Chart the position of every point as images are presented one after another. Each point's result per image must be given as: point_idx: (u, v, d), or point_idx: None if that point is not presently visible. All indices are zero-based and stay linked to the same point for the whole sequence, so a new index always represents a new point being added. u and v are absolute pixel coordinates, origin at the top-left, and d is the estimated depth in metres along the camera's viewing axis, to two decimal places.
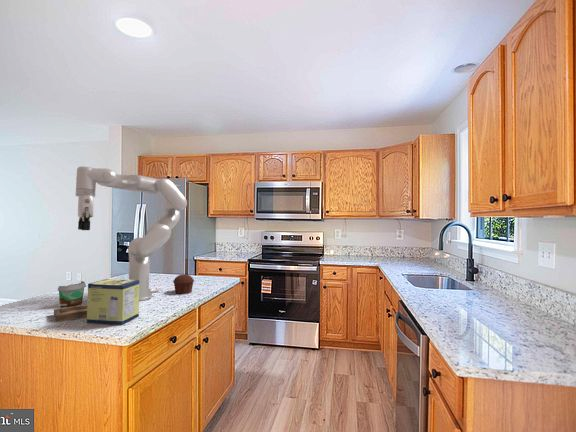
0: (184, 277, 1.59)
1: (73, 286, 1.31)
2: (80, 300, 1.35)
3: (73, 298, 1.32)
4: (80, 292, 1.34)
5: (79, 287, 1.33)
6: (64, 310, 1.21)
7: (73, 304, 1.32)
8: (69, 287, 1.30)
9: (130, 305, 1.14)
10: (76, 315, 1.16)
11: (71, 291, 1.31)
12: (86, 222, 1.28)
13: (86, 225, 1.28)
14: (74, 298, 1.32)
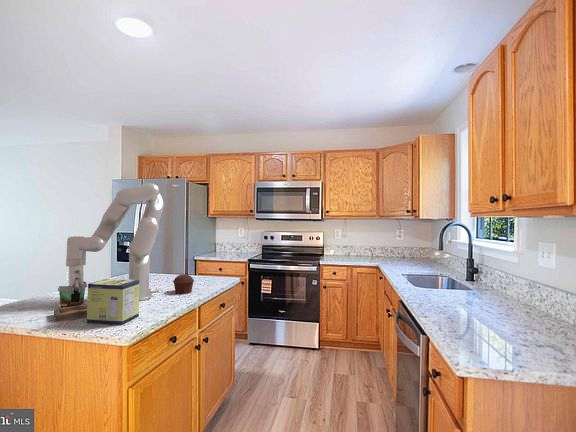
0: (184, 277, 1.59)
1: (73, 286, 1.31)
2: (80, 300, 1.34)
3: None
4: (80, 293, 1.34)
5: None
6: (64, 310, 1.21)
7: (73, 304, 1.31)
8: (69, 287, 1.30)
9: (130, 305, 1.14)
10: (76, 315, 1.16)
11: (71, 291, 1.31)
12: (76, 294, 1.31)
13: (76, 297, 1.31)
14: None
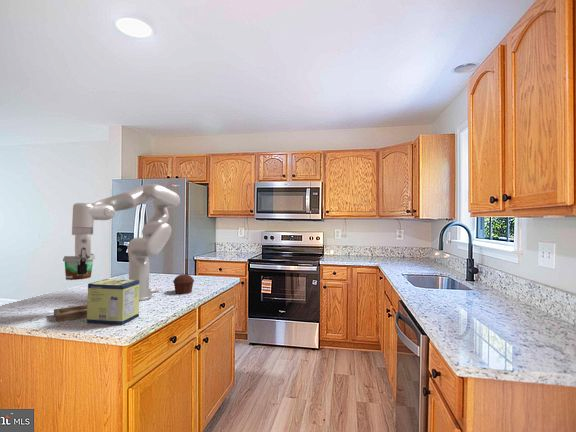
0: (184, 277, 1.59)
1: None
2: (87, 273, 1.23)
3: None
4: (87, 265, 1.22)
5: None
6: (64, 310, 1.21)
7: (79, 277, 1.20)
8: (75, 258, 1.18)
9: (130, 305, 1.14)
10: (76, 315, 1.16)
11: (77, 262, 1.19)
12: (82, 265, 1.19)
13: (82, 269, 1.19)
14: None
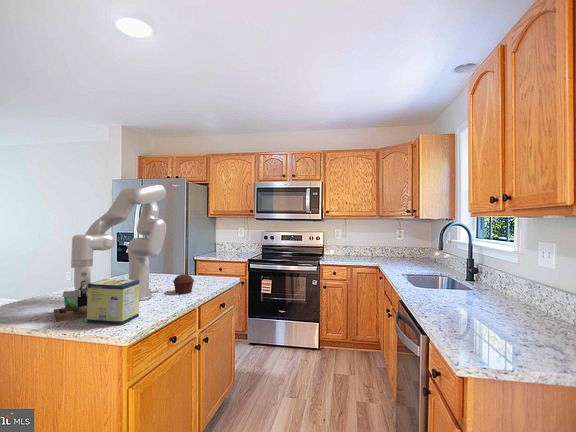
0: (184, 277, 1.59)
1: None
2: None
3: None
4: (87, 298, 1.20)
5: None
6: (64, 310, 1.21)
7: None
8: (75, 292, 1.17)
9: (130, 305, 1.14)
10: (76, 315, 1.16)
11: (77, 296, 1.17)
12: (83, 298, 1.17)
13: (83, 301, 1.17)
14: None
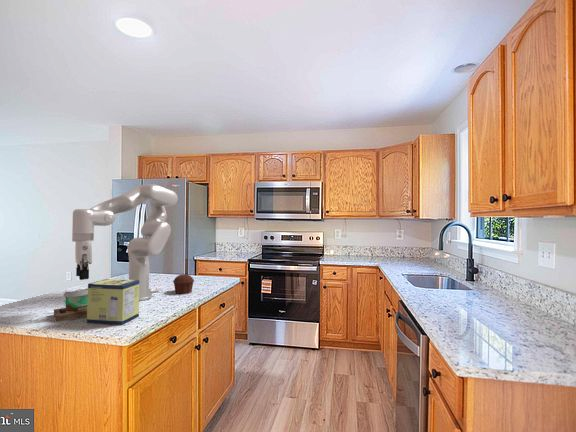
0: (184, 277, 1.59)
1: (80, 292, 1.17)
2: None
3: (80, 305, 1.18)
4: None
5: (87, 293, 1.19)
6: (64, 310, 1.21)
7: None
8: (76, 293, 1.16)
9: (130, 305, 1.14)
10: (76, 315, 1.16)
11: (78, 297, 1.17)
12: (84, 271, 1.18)
13: (84, 274, 1.18)
14: (81, 305, 1.18)
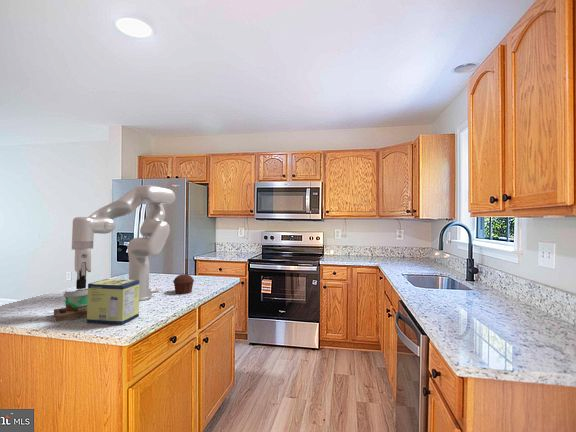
0: (184, 277, 1.59)
1: (80, 292, 1.17)
2: None
3: (80, 305, 1.18)
4: None
5: (87, 293, 1.19)
6: (64, 310, 1.21)
7: None
8: (76, 293, 1.16)
9: (130, 305, 1.14)
10: (76, 315, 1.16)
11: (78, 297, 1.17)
12: (82, 280, 1.20)
13: (82, 283, 1.20)
14: (81, 305, 1.18)
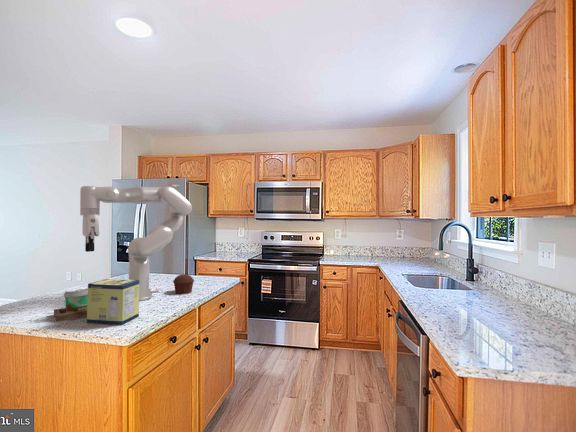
0: (184, 277, 1.59)
1: (80, 292, 1.17)
2: None
3: (80, 305, 1.18)
4: None
5: (87, 293, 1.19)
6: (64, 310, 1.21)
7: None
8: (76, 293, 1.16)
9: (130, 305, 1.14)
10: (76, 315, 1.16)
11: (78, 297, 1.17)
12: (90, 244, 1.32)
13: (91, 246, 1.32)
14: (81, 305, 1.18)
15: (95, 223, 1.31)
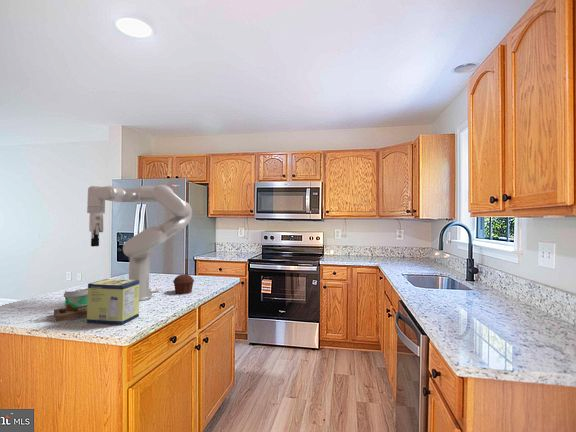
0: (184, 277, 1.59)
1: (80, 292, 1.17)
2: None
3: (80, 305, 1.18)
4: None
5: (87, 293, 1.19)
6: (64, 310, 1.21)
7: None
8: (76, 293, 1.16)
9: (130, 305, 1.14)
10: (76, 315, 1.16)
11: (78, 297, 1.17)
12: (95, 239, 1.44)
13: (95, 242, 1.44)
14: (81, 305, 1.18)
15: (100, 220, 1.42)
